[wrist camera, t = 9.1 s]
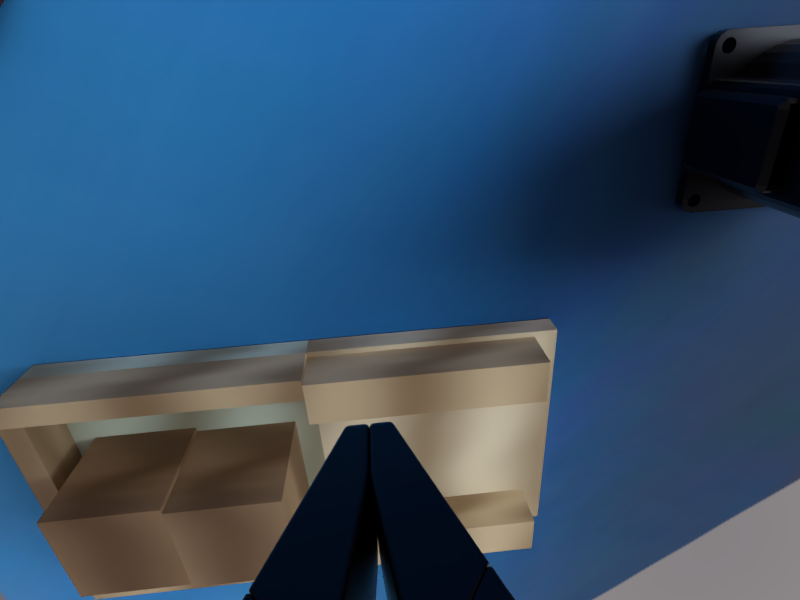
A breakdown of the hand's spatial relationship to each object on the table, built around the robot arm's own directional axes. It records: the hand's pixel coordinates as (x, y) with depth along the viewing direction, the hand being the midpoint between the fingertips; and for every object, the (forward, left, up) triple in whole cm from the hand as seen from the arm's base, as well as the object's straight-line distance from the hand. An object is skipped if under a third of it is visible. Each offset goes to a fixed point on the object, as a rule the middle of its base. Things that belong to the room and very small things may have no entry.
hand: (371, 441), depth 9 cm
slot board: (+3, +11, -12) cm, 17 cm away
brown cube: (+6, +11, -11) cm, 17 cm away
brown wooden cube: (+11, +11, -11) cm, 19 cm away
